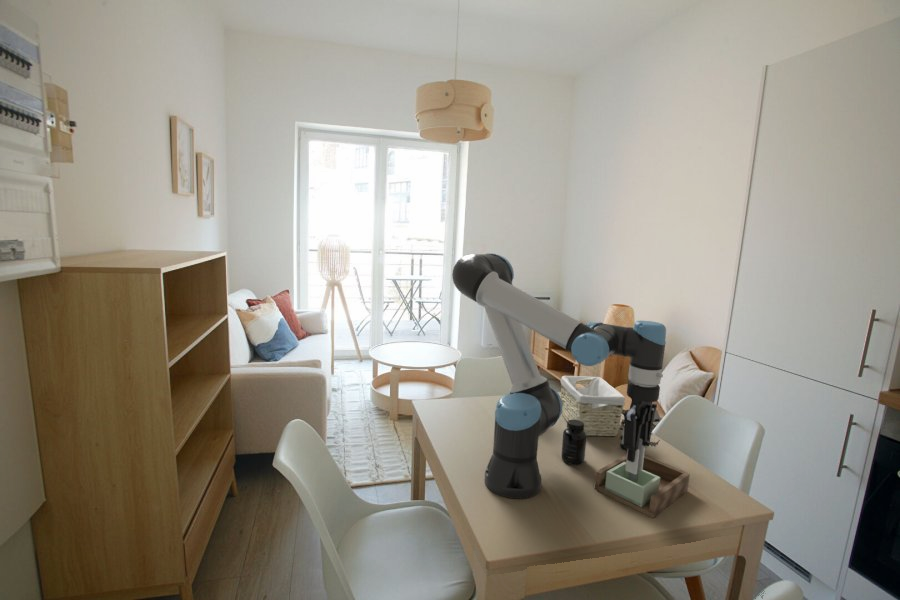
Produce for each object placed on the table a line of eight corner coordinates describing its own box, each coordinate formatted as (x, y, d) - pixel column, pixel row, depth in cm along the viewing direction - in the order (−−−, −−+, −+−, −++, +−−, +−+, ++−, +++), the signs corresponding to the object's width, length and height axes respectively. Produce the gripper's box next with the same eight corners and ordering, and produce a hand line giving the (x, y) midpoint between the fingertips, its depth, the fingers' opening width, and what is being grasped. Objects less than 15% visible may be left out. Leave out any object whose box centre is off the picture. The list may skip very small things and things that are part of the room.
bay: (653, 518, 111) (655, 498, 111) (594, 488, 123) (596, 471, 122) (687, 491, 124) (689, 473, 124) (631, 467, 136) (633, 451, 136)
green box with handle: (641, 507, 113) (648, 451, 111) (604, 489, 121) (610, 436, 119) (658, 495, 119) (664, 441, 117) (622, 478, 127) (627, 428, 125)
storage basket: (556, 410, 179) (559, 374, 177) (597, 412, 179) (601, 375, 177) (575, 437, 155) (579, 395, 153) (622, 439, 156) (627, 397, 154)
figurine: (662, 462, 141) (668, 415, 138) (624, 459, 141) (630, 413, 139) (650, 448, 150) (655, 404, 147) (614, 446, 150) (619, 402, 148)
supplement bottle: (565, 452, 143) (569, 415, 142) (587, 459, 140) (591, 422, 138) (557, 460, 138) (560, 422, 136) (579, 468, 134) (583, 429, 132)
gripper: (644, 392, 108) (633, 486, 111) (672, 381, 118) (661, 467, 121) (614, 384, 113) (605, 473, 117) (643, 373, 124) (634, 456, 127)
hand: (633, 470), depth 119 cm, fingers closed on green box with handle, 2 cm apart
